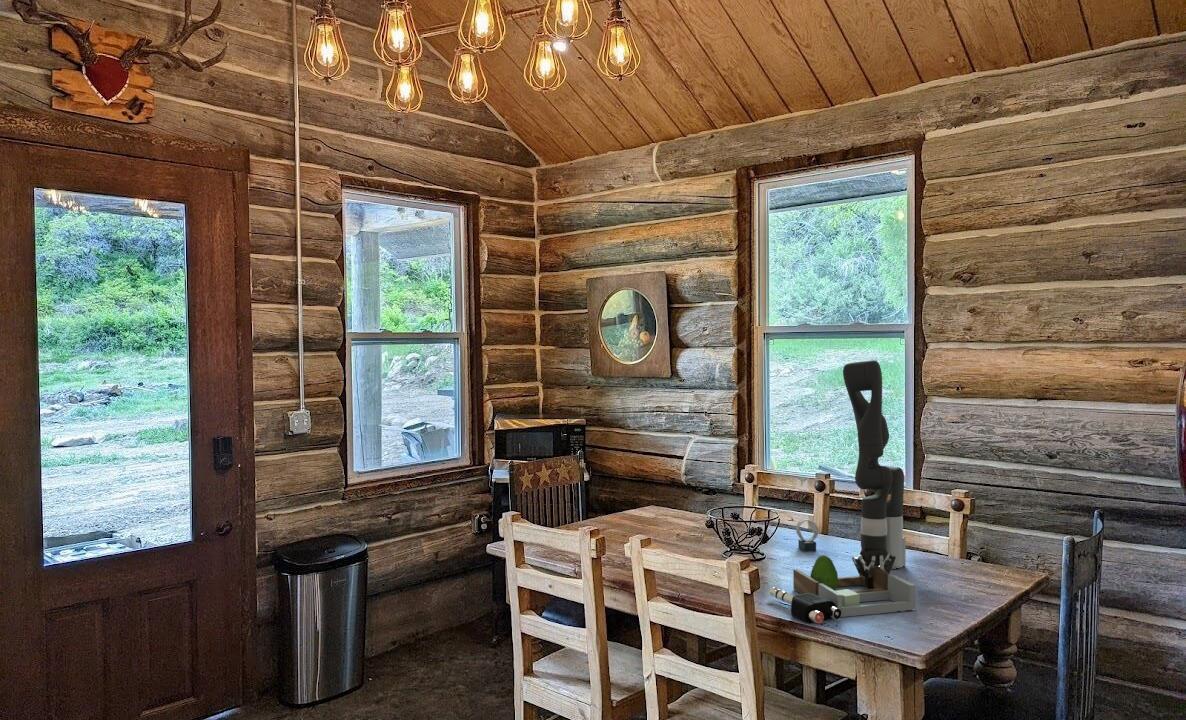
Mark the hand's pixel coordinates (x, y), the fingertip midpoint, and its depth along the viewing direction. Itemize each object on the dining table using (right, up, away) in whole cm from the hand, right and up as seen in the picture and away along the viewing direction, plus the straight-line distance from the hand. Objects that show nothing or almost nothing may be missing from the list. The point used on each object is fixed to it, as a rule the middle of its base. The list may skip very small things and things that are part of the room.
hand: (874, 588), depth 244 cm
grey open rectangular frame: (-8, -1, -16) cm, 18 cm away
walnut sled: (-12, -1, -2) cm, 12 cm away
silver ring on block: (-7, 0, +49) cm, 49 cm away
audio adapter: (-27, -2, -17) cm, 32 cm away
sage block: (-14, -1, -17) cm, 22 cm away
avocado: (-16, -1, -3) cm, 16 cm away
